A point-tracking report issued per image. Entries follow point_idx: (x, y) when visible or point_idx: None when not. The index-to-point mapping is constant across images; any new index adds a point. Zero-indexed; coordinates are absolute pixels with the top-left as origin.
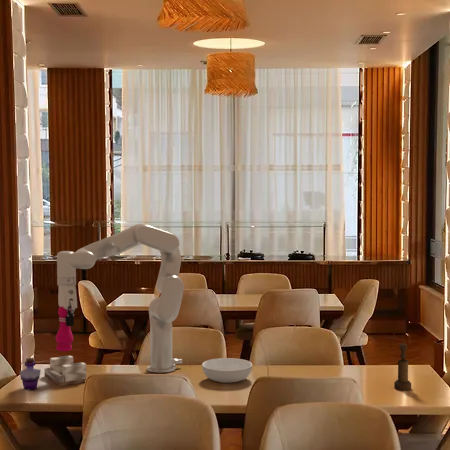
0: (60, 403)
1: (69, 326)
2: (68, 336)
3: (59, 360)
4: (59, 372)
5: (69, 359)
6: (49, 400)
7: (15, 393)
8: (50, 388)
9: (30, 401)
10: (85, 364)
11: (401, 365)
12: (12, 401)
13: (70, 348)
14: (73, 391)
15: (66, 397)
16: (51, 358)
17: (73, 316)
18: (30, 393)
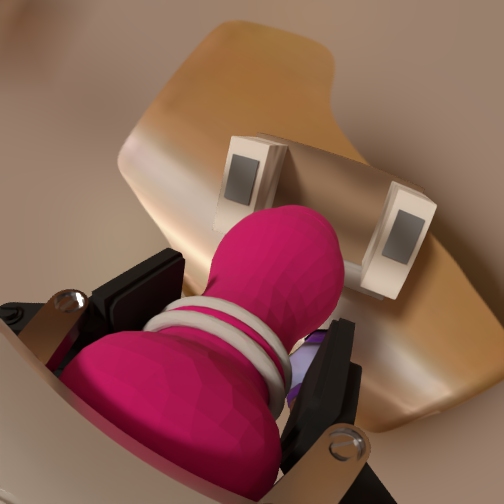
0: (483, 381)
1: (285, 306)
2: (334, 301)
3: (255, 211)
4: (272, 201)
5: (267, 164)
6: (448, 383)
7: None
8: (375, 317)
9: (412, 406)
10: (435, 208)
11: None
12: (374, 421)
13: (337, 242)
14: (459, 299)
15: (473, 347)
16: (221, 230)
17: (339, 408)
18: (364, 373)
